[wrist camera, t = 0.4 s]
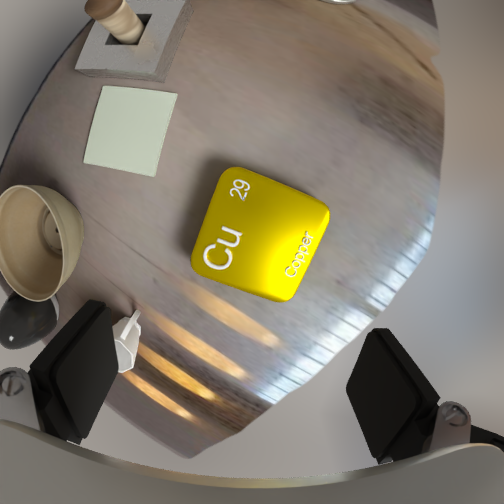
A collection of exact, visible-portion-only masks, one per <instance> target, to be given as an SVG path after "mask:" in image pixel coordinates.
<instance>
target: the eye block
mask: <svg viewBox="0 0 504 504" xmlns="http://www.w3.org/2000/svg"><path fill="white" fill-rule="evenodd" d="M125 1H126V2H127V4H128V5H129V6H130V7H131V9H132V10H133V11H134V13H135V14H136V15H137V17H138V18H139V19H140V21H141V22H142V23H143V25H144V26H145V27H146V28H145V30H144V33H143V35H142V37H141V39H140V42H139V44H138V45H123V44H122V43H121V42H120V41H119V40H118V39H117V38H115V37H114V36H113V35H112V34H111V33H110V32H109V31H108V30H107V29H105V28H104V27H103V26H102V25H101V24H100V23H99V22H98V21H95V23H94V25H93V27H92V29H91V31H90V33H89V35H88V38H87V40H86V42H85V44H84V47H83V49H82V51H81V54H80V56H79V59H78V61H77V64H76V67H75V70H77V71H79V72H81V73H83V74H85V75H87V76H89V77H105V78H123V79H135V80H146V81H155V82H163V83H164V82H165V80H166V77H167V74H168V71H169V69H170V66H171V63H172V61H173V58H174V55H175V53H176V50H177V48H178V46H179V43H180V41H181V38H182V36H183V34H184V31H185V29H186V27H187V25H188V22H189V20H190V18H191V16H192V14H193V12H194V11H193V8H192V5H191V2H190V0H125Z"/></svg>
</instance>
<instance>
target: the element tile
mask: <svg viewBox="0 0 504 504" xmlns="http://www.w3.org/2000/svg"><path fill="white" fill-rule="evenodd" d="M329 221H330V210H329V208H328V206H327V205H326V204H325V203H323V202H322V201H320V200H318V199H316V198H314V197H312V196H309V195H307V194H305V193H303V192H300V191H298V190H296V189H293V188H291V187H289V186H286V185H284V184H282V183H279V182H277V181H274V180H272V179H270V178H267V177H265V176H262V175H260V174H257V173H255V172H252V171H250V170H247V169H245V168H242V167H231V168H228V169H226V170H225V171H224V172H223V173H222V175H221V176H220V178H219V181H218V183H217V186H216V189H215V191H214V194H213V196H212V199H211V202H210V204H209V207H208V210H207V212H206V215H205V218H204V221H203V223H202V226H201V229H200V232H199V234H198V237H197V240H196V243H195V246H194V249H193V251H192V254H191V259H190V261H191V266H192V268H193V270H194V271H195V272H196V273H197V274H199V275H200V276H203V277H206V278H209V279H211V280H214V281H217V282H220V283H222V284H225V285H228V286H231V287H234V288H236V289H239V290H242V291H245V292H248V293H251V294H254V295H256V296H259V297H262V298H265V299H268V300H271V301H274V302H286V301H289V300H290V299H291V298H292V297H293V296H294V295H295V293H296V291H297V289H298V287H299V285H300V283H301V281H302V279H303V277H304V275H305V273H306V271H307V269H308V267H309V265H310V263H311V260H312V258H313V256H314V254H315V252H316V250H317V248H318V246H319V244H320V241H321V239H322V237H323V235H324V233H325V230H326V228H327V226H328V224H329Z"/></svg>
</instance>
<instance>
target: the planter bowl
mask: <svg viewBox="0 0 504 504" xmlns="http://www.w3.org/2000/svg"><path fill="white" fill-rule="evenodd" d="M57 228H58V231H59V232H57V231H56V229H57ZM83 237H84V225H83V221H82V218H81V215H80V213H79V211H78V210H77V208H76V207H75V206H74V205H73V204H72V203H70V202H69V201H68V200H67V199H66V198H65V197H63V196H62V195H61V194H59V193H58V192H56V191H54V190H52V189H50V188H47V187H44V186H38V185H16V186H12V187H10V188H8V189H7V190H6V191H5V192H3V194H2V195H1V196H0V271H1V273H2V275H3V276H4V278H5V280H6V281H7V282H8V284H9V285H10V286H11V287H12V289H13V290H14V291H16V292H17V293H18V294H19V295H21V296H22V297H24V298H26V299H28V300H31V301H44V300H47V299H49V298H51V297H52V296H53V295H54V294H55V293H56V292H57V291H58V290H59V288H60V287H61V286H62V285H63V284H64V283H65V282H66V280H67V279H68V278H69V276H70V275H71V273H72V271H73V270H74V268H75V266H76V263H77V261H78V258H79V255H80V250H81V245H82V242H83Z"/></svg>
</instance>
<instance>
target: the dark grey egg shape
mask: <svg viewBox="0 0 504 504" xmlns="http://www.w3.org/2000/svg"><path fill="white" fill-rule="evenodd" d="M58 316H59V305H58V301H57V298H56V296H55V294H54V295H53V296H52V297H51V298H49V299H47V300H44V301H31V300H28V299H26V298H24V297H22V296H21V295H19V294H18V293H17V292H16V291H13V292H12V294H11V295H10V296H9V297H8V299H7V300H6V301H5V303H4V305H3V306H2V308H1V310H0V343H1V345H2V346H4V347H5V348H7V349H21V348H24V347H27V346H30V345H32V344H34V343H36V342H38V341H40V340H41V339H43V338H44V337H46V336H47V335H48V334H50V333H51V332H52V331H53V330H54V328H55V327H56V324H57V320H58Z"/></svg>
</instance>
